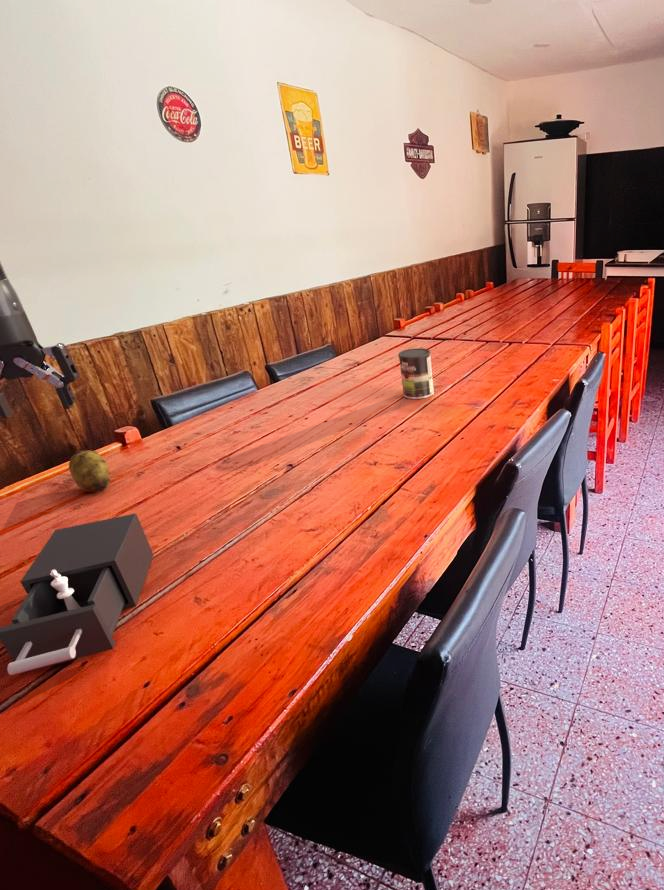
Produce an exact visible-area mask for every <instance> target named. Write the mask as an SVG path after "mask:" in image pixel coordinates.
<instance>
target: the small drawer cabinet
mask: <svg viewBox="0 0 664 890" xmlns="http://www.w3.org/2000/svg"><path fill="white" fill-rule="evenodd" d="M153 559H154V553H153V550H152V548H151V545H150V542H149V541H148V538H147V536H146V533H145V531H144V528H143V526H142V524H141V522H140V519H139V517H138V514H137V513H131V514H127V515H121V516H116V517H111V518H106V519H102V520H97V521H92V522H87V523H83V524H77V525H73V526H72V525H71V526H68V527H63V528H58V529H55V530H54V531H53V533H52V534H51V536H50V537H49V538H48V540H47V541H46V543H45V544H44V546H43V548H42V549H41V550H40V552H39V554H38V555H37V556H36V557H35V559H34V561H33V562H32V564H31V565H30V566H29V568H28V569H27V571H26V573H25V574H24V575H23V577H22V579H21V580H20V584H21V586H22V587H23V589H24V591H25V593H26V595H28V593H29V592H30V590H31V588H32V587H33V585H34V584H35V583H36V582H40V581H45V580H49V579H53V578H54V577H53V576H51V575H50V573H51V571H52V570H56V571H57V573H58V574H60V575H61V577H62V576H66V575H71V574H75V573H80V572H84V571H88V570H93V569H97V568H101V567H106V566H110V565H111V566H112V568H113V570H114V572H115V574H116V576H117V579H118V581H119V583H120V585H121V587H122V589H123V591H124V593H125V595H126V601H125V603H124V606H123V608H122V610H126V609H130V608H134V607H137V605H138V602H139V599H140V596H141V593H142V591H143V587H144V585H145V581H146V579H147V576H148V574H149V571H150V567H151V564H152V561H153Z"/></svg>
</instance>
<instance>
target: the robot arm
mask: <svg viewBox="0 0 664 890" xmlns="http://www.w3.org/2000/svg"><path fill="white" fill-rule="evenodd" d="M47 356H49V358H51V359H52V360H53V361H56V363H57V366H58V367H59V368H60V371H61V372H62V373H61V372H59V371H57V369H56V368H55V367H54V366H52V365H51V364H49V363H48V362H46V361H45V359H46V357H47ZM33 376H35V377H38V378H39V379H40V380H42V381H46V382H48V383H49V384H51V385H53V386H54V387H56V388H55V391H56V394H57V396H58V398H59V400H60V403H61V406H62V408H63V409H64V410H71V409H72V408H73V407H74V404H75V403H76V396H75V394H74V392H73V390H72V387H71V386H70V385H71V383H74V382H75V381H77V380H78V379H79V378H80V376H81V375H80V371H79V370H78V368H77V367H76V364H75V362H74V360H73V358H72V356H71V354H70V352H69V350H68V349H67V346H66V345H65V344H64V343H62V342H58V343H56V344H55V345H50V346H42V345H41V344H40V343H39V341H38V338H37V335H36V333H35V331H34V329H33V326H32V324H31V322H30V319H29V317H28V315H27V313H26V310H25V308H24V306H23V304H22V301H21V299H20V297H19V295H18V293H17V290H15V288H14V286H13V284H12V283H11V282H10V279H9V278H8V275H7V273H6V270H5V269H4V266H3V264H2V261H1V260H0V390H1V389H2V386H3V384H4V383H5V381H6V380H7V381H13V380H16V379H18V378H21V379H22V378H24V379H27V378H33ZM13 415H14V412H13V410H12V408H11V406H10V403H9V402H8V400H7V398H6V396H5V394H4V393H3V392H0V417H1V419H3V420H6V419H10V418H11V417H13Z"/></svg>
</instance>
